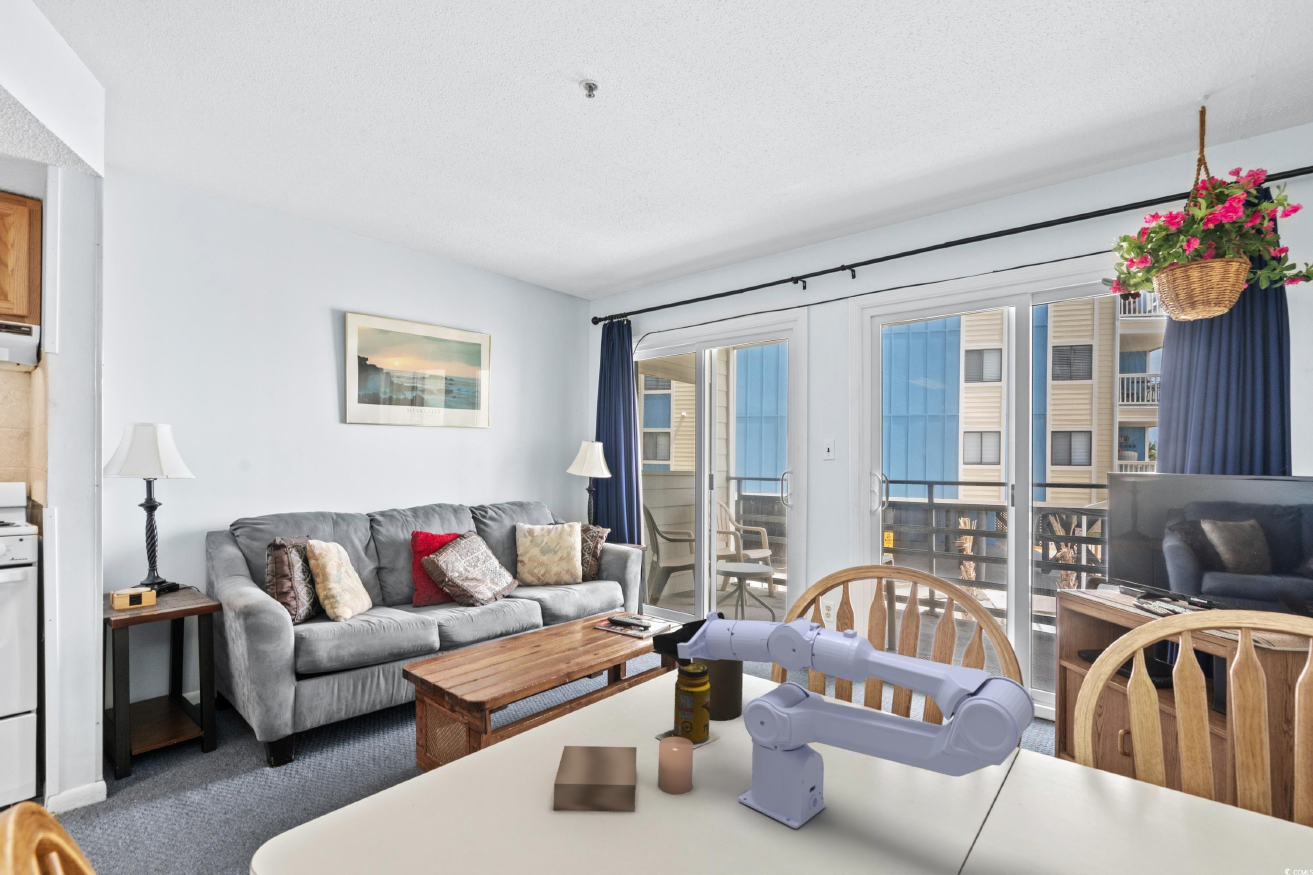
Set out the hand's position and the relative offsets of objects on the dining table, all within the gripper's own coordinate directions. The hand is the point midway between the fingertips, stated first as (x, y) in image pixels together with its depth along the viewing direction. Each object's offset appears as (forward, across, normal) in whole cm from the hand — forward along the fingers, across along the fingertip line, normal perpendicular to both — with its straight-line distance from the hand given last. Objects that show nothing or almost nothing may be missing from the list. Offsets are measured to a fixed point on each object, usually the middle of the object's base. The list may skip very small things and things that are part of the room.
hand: (669, 636), depth 103 cm
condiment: (+5, -7, +19) cm, 21 cm away
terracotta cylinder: (-3, +7, +20) cm, 21 cm away
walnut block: (+4, +15, +18) cm, 24 cm away
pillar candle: (+8, -20, +19) cm, 29 cm away
